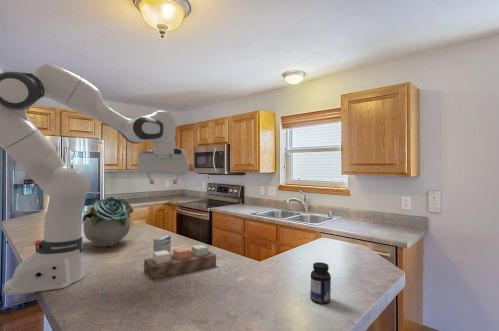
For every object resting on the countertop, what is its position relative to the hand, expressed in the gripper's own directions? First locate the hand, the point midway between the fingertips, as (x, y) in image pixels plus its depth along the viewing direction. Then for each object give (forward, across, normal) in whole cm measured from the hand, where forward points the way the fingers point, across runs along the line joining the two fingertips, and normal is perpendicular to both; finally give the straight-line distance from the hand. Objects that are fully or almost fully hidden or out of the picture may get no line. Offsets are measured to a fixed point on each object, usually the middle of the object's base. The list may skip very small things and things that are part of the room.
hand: (163, 184), depth 116 cm
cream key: (+30, +1, -9) cm, 32 cm away
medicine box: (+34, -2, +11) cm, 35 cm away
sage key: (+31, +15, -1) cm, 34 cm away
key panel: (+33, +8, -5) cm, 35 cm away
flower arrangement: (+33, -32, +30) cm, 56 cm away
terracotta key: (+30, +8, -5) cm, 32 cm away
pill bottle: (+34, +54, -36) cm, 73 cm away
